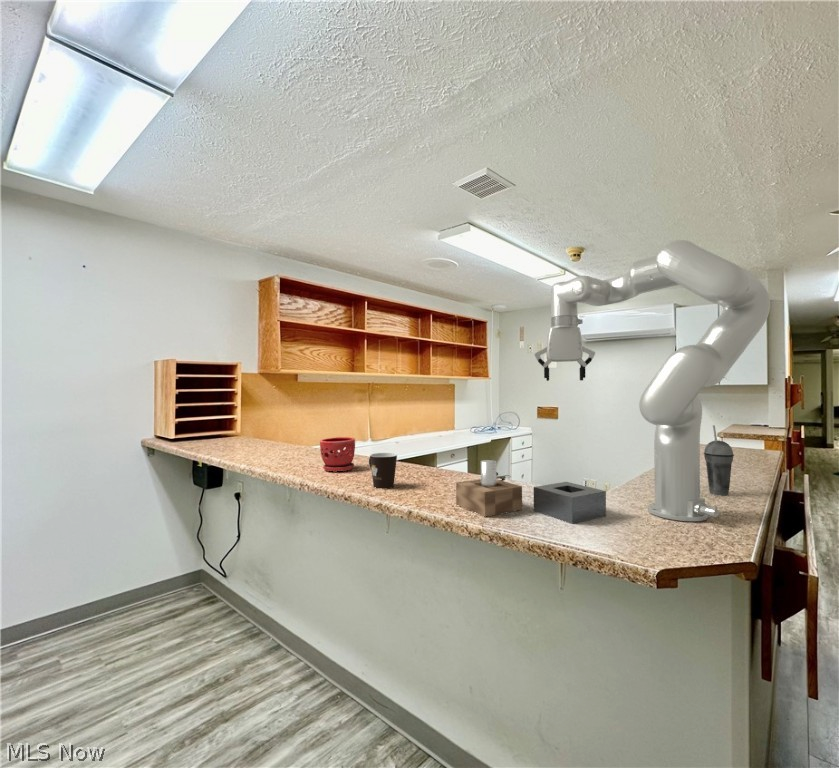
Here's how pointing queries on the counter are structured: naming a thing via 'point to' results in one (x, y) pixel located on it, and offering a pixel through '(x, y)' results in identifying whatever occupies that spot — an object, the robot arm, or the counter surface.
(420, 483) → the counter surface
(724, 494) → the beverage cup
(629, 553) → the counter surface
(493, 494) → the block
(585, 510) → the socket block
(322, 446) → the plant pot
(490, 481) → the silver metal cylinder
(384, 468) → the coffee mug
